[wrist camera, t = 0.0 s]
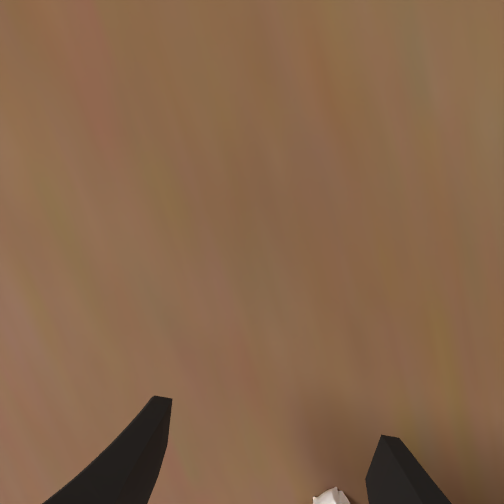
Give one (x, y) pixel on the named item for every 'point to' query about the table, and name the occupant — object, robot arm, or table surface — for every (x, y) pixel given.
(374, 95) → the table surface
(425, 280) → the table surface
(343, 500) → the sitting furry creature
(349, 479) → the table surface
